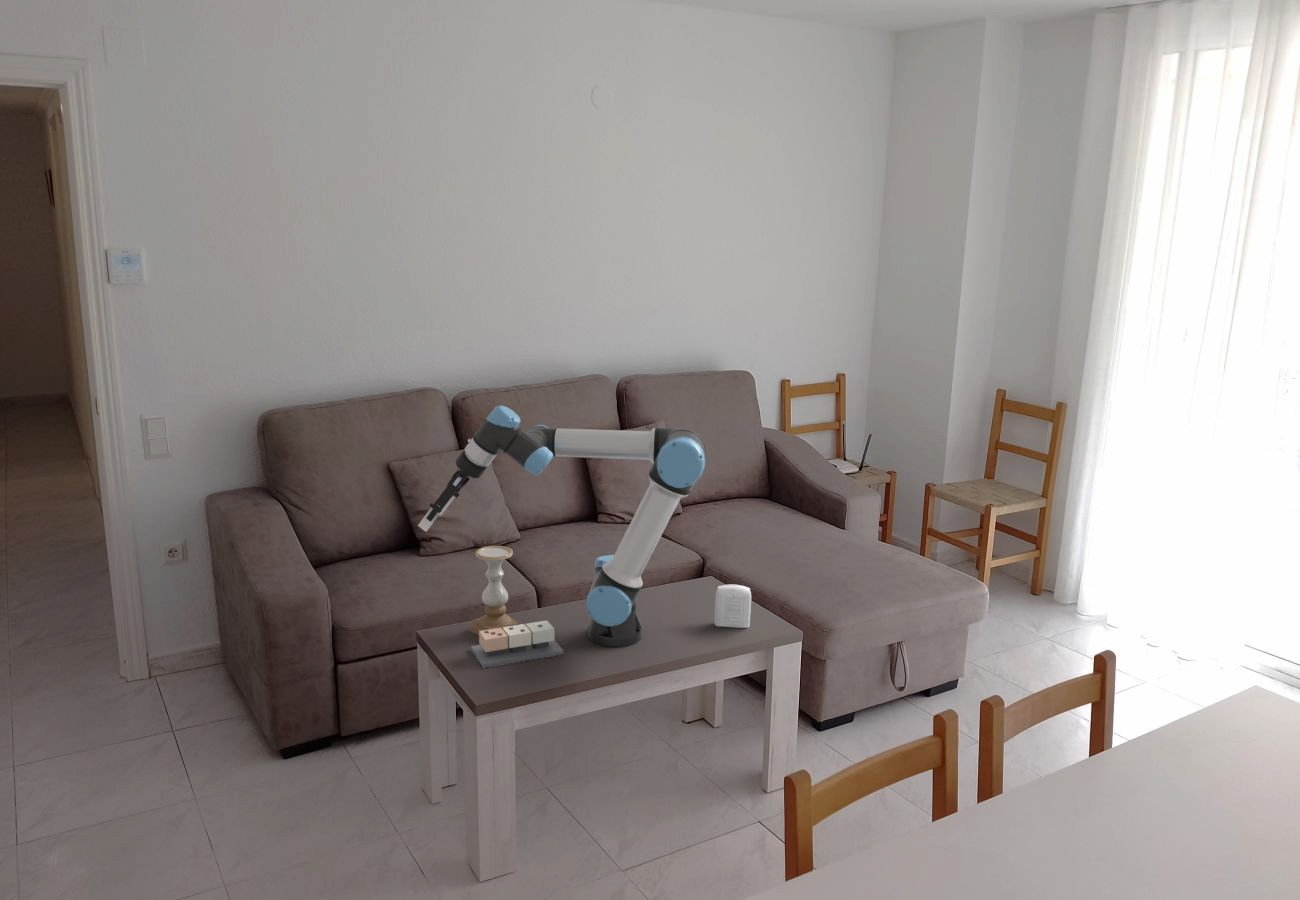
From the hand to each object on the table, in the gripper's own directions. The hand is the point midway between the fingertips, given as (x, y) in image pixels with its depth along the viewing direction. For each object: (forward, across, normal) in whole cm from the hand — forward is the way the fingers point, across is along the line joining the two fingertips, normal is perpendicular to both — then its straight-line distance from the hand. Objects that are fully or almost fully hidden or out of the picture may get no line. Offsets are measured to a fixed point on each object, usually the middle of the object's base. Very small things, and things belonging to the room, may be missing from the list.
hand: (429, 520), depth 267 cm
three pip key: (+17, +3, +33) cm, 37 cm away
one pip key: (+10, -3, +42) cm, 44 cm away
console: (+16, 0, +40) cm, 42 cm away
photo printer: (-18, -24, +86) cm, 92 cm away
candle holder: (+21, -12, +33) cm, 41 cm away
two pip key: (+13, 0, +38) cm, 40 cm away
